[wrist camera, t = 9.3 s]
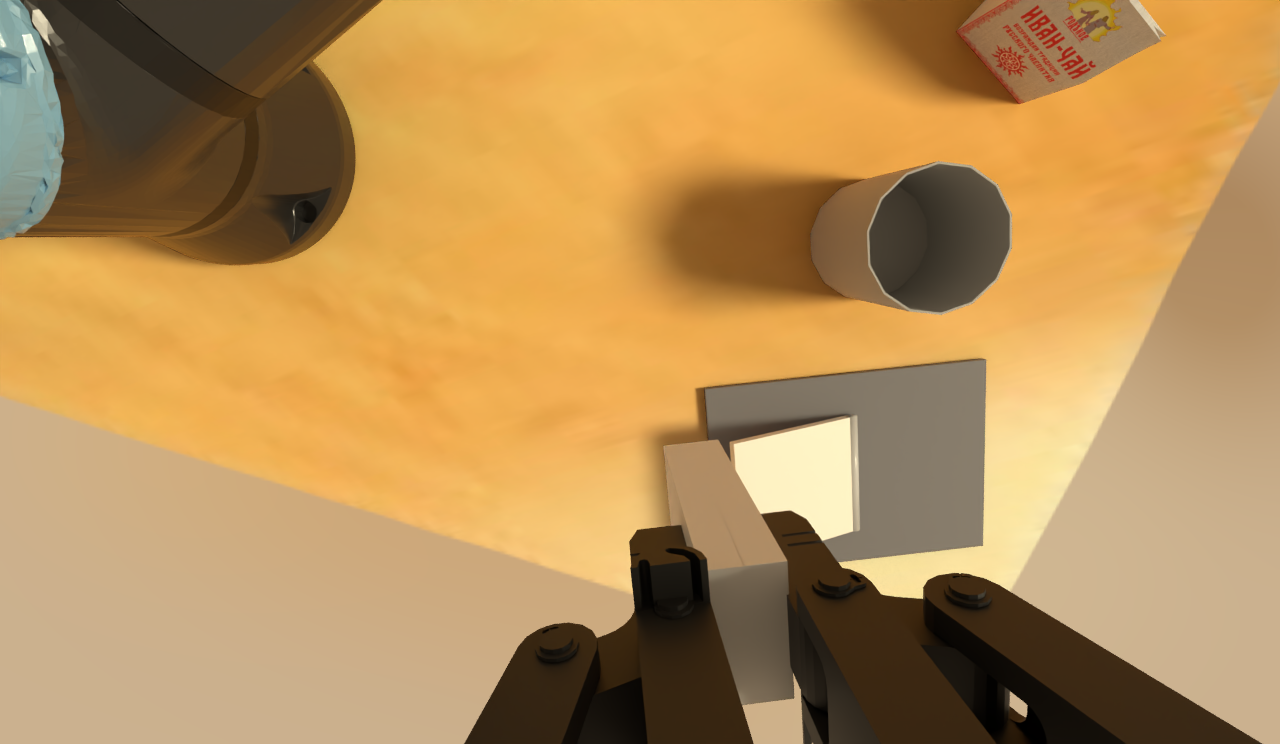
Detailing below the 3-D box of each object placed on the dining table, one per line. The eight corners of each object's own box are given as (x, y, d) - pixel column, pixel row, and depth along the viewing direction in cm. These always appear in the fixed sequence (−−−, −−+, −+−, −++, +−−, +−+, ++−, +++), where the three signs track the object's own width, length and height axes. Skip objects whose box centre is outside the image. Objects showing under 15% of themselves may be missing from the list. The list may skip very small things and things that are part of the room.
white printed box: (996, -13, 42) (1114, -90, 32) (1059, 62, 43) (1191, 10, 34) (956, 31, 43) (1060, -32, 33) (1019, 104, 44) (1138, 64, 34)
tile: (735, 444, 43) (728, 441, 44) (743, 566, 45) (736, 560, 45) (860, 416, 46) (851, 413, 47) (862, 529, 48) (854, 524, 49)
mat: (704, 387, 47) (705, 389, 46) (982, 358, 47) (986, 359, 47) (718, 572, 50) (719, 576, 49) (979, 542, 50) (982, 545, 50)
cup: (800, 291, 46) (853, 305, 36) (819, 173, 44) (880, 154, 34) (913, 304, 46) (995, 320, 36) (936, 187, 45) (1028, 172, 35)
